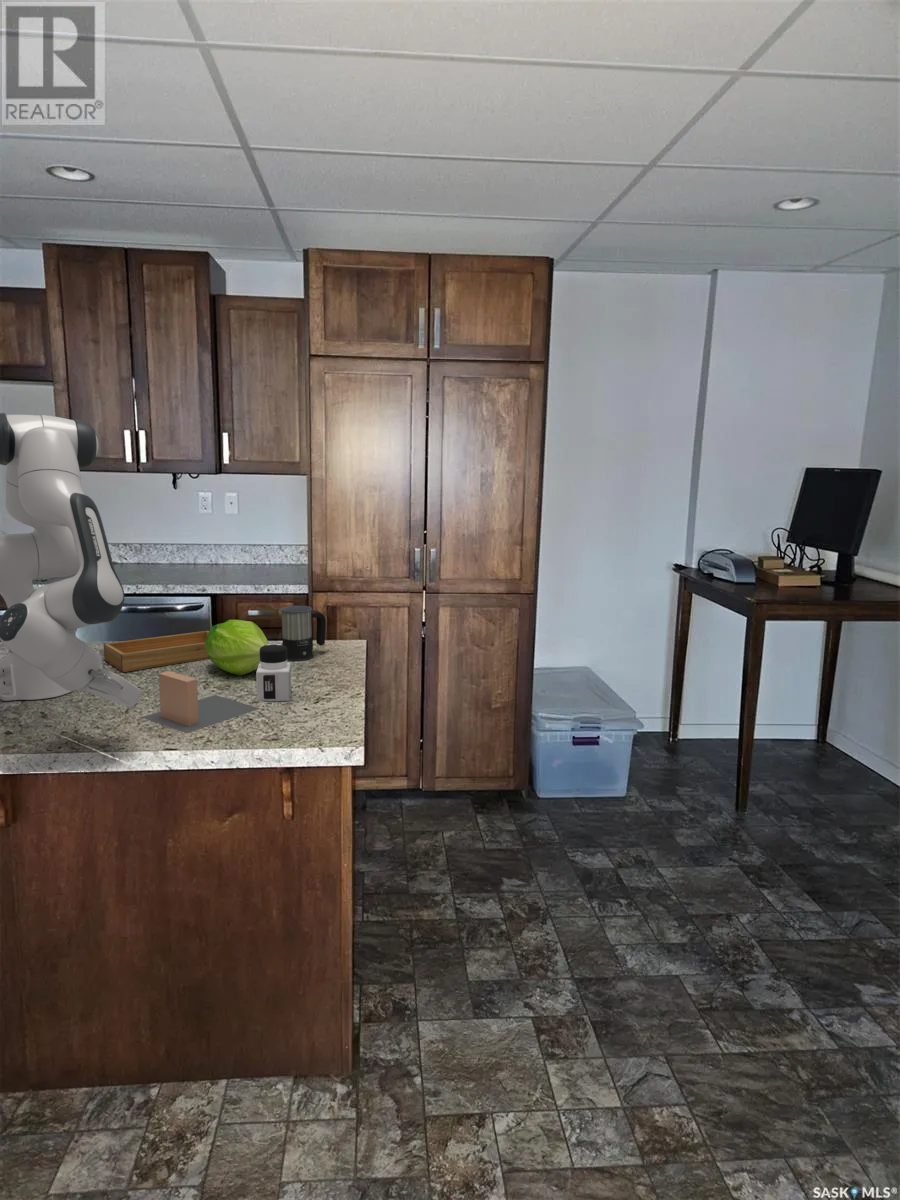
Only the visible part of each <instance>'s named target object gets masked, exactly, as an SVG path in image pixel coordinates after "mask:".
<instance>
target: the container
mask: <svg viewBox="0 0 900 1200" xmlns="http://www.w3.org/2000/svg"><path fill="white" fill-rule="evenodd" d="M281 644H282V643H281ZM281 644H280V643H268V645H264V646H262V647H261V648H260V663H259V665H258V668H256V673H255V674H256V677H255V678H256V679H255V680H256V700H257V701H261V702H266V703H267V702H289V701H290V699H291V695H292V693H291V692H292V677H291V676H292V675H291V671H292V668H291V665H292V664H291V662H289V661H288V660H287V648H286V646H284V645H281Z"/></svg>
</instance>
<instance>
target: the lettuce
mask: <svg viewBox="0 0 900 1200" xmlns="http://www.w3.org/2000/svg"><path fill="white" fill-rule="evenodd" d="M208 631H209V632H208V634H207V637H206V639H205V648H206V651H207V654H208V657H209V659H208V660H210V661H211V662H212V664H213V665H214V666H216V667H217V668H219V669H220V670H223V671H224V672H227V673H230V674H233V675H234V676H235V675H236V676H243V675H246V674H250V673H252V672H253V671H255V670H257V668H258V665H259V663H260V648H261V647H262V646H264V645H268V644H269V640H268V639H267V637H266V636H265V635H266V634H265V633H264V632H263V630H262V629H261V628H260V627H259V626H258V625H257V624H256V623H255V622H253V621H248V620H241V619H228V620H226V621H225V622H222V623H217V624H215V625H212V626H211V628H210V629H209V630H208Z"/></svg>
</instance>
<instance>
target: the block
mask: <svg viewBox="0 0 900 1200" xmlns="http://www.w3.org/2000/svg"><path fill="white" fill-rule="evenodd" d="M158 693H159V712H160V714H161V717H163V718H166V719H169V720H172V721H175V722H178V723H181V724H183V725H186V726H192V725H195V724H198V723H199V718H198V700H199V698H198V697H199V696H198V695H199V693H198V679H197V678H194V677H192V676H191V677H190V676H186V675H183V674H180V673H176V672H173V671H169V670H167V671H163V672H159V673H158Z"/></svg>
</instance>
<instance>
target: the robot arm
mask: <svg viewBox="0 0 900 1200" xmlns="http://www.w3.org/2000/svg"><path fill="white" fill-rule="evenodd" d="M99 448H100V447H99V439H98V437H97V433H96V429H95V428H94V426H92V424H91V423H89V422H86V421H85V420H80V419H77V418H74V419H69V418H63V417H59V416H55V415H46V414H40V415H37V414H6V413H5V412H0V465H1V466H6V467H5V468H6V469H5V508H6V511H7V513H8V514H9V515H10V517H12V519H14V520H16V521H18V522H19V523H21V524H23V525H26V526H29V527H32V528H33V531H31V532H27V533H24V532H23V533H5V534H4V533H3V534H0V595H1V597H2V599H3V601H4V602H5V604H6V607H7V609H6V610H5V611H4V612H3V614H1V616H0V642H1V643H2V645H4V647H6V649H8V653H7V654H6V655H5V656H4V658H2V660H0V700H1V701H3V702H4V701H6V702H7V701H18V700H22V701H23V700H24V701H25V700H27V701H28V700H31V701H33V700H43V699H49V698H56V697H60V696H64V695H66V694H68V693H71V692H75V691H77V690H79V691H83V692H85V693H88V694H91V695H94V696H96V697H100V698H103V699H106V700H109V701H112V702H114V703H116V704H117V705H120V706H122V707H125V708H132V707H135V705H137V702H138V701H139V699H141V697H142V695H143V692H142V690H141V689H140V688H139V687H137V686H136V685H135V684H133V683H132V682H130V681H129V680H128V679H126V678H124V677H123V676H121V675H119V674H118V673H115V672H114V671H111V670H107V669H104V668H103V664H102V661H103V659H102V656H101V654H100V653H99V652H97V650H95V649H93V648H92V647H91V646H89V645H88V644H87V643H85V642H84V641H83V640H82V639H80V638H79V637H77V636H76V635H77V634H76V633H77V630H78V629H80V628H84V627H86V626H87V627H88V626H90V625H98V624H103V623H109V622H111V621H113V620H115V619H116V618H117V617H119V614H120V613H121V611H122V610H123V606H124V603H125V590H124V588H123V585H122V583H121V580H120V579H119V576H118V574H117V571H116V570H115V566H114V563H113V559H112V555H111V551H110V547H109V543H108V539H107V535H106V531H105V527H104V524H103V521H102V517H101V515H100V512H99V509H98V507H97V505H96V503H95V501H93V499H92V498H91V497H90V496H88V495H87V494H85V492H84V490H83V486H82V478H81V473H80V471H81V470H80V469H85V468H89V467H90V466H92V465H93V464H95V461H96V458H97V456H98V454H99ZM72 575H74V576H72ZM69 576H70V577H69ZM63 577H68V578H64V579H62V580H57V581H54V582H50V583H47V584H45V585H42V586H40V587H38V588H36V589H35V587H34V585H33V580H34V581H35V580H38V579H52V578H63Z"/></svg>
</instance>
